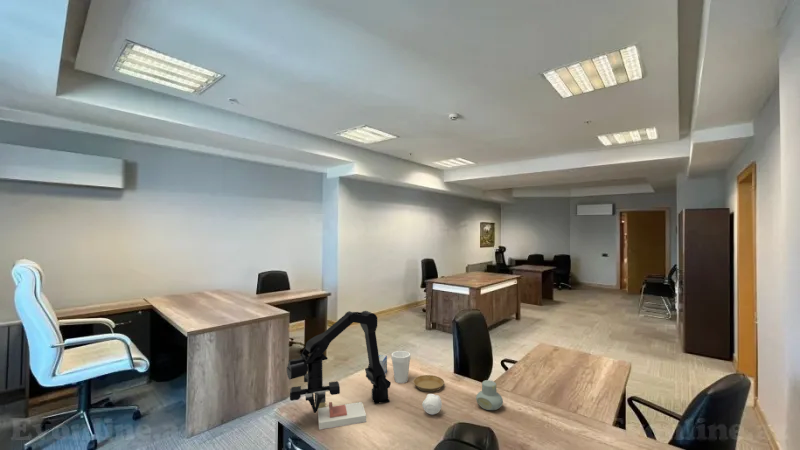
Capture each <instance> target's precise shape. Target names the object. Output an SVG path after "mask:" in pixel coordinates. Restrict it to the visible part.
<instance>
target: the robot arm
mask: <svg viewBox="0 0 800 450" xmlns="http://www.w3.org/2000/svg"><path fill="white" fill-rule="evenodd" d="M353 323H357V324H359V325H360V327H361V329H362V331H363V333H364V337H365V338H364V339H365V344H366V352H367V358H368V366H367V367H365V369H364V370H365V377H366V378H367V380H368V381H370V384H371V385H372V388H371V400H372V401H373V403H374V404H375V405H376V404H384V403H388V402H390V399H389V389H390V388H391V381H390V380H388V379H387V377H386V374H385V373H384V370H383V368H382V366H381V364H380V361H379V348H378V341H377V334H376V332H377V328H378V316H377V315H376V314H375V312H371V311H368V310H363V311H361V312H359V311H347V312H345V314H344V315H342V316H341V317H340V318H339V319H338V320H337V321H335V323H333V324H332V325H331V326H329V328H327V329H326V330H325V331H324V332H321V333H320V334H317V335H315V336H313V337H312V338H310V339H309V340H307V341H306V343H305V347H304V348H303V351H302V352H301V353H300V355H299V357H300V358H295V359H288V363H287V366H286V375H287V378H288V379H289V380H293V379H297V378H301V377H303V382H304V383H307V388H302V386H301V385H300V386H292V387H291V388H290V391H289V401H293V402H294V401H298V400H300V399H301V396H303V395H304V396H305V401H306V402H307V401H308V402H309V404H310V405H311V409H312V411H313V413H314V414H318V407H319V404H320V402H321V400H322V399H323V398H325V394H326V392H329V394H330V395H331V396H334V395H336V396H337V395H340V393H341V387H340V383H339V382H338V381H337V380H336V381H330V382H328V385H323V384H324V383H323V375H324V374H323V361H326V360H328V356H327V355H325V354H324V353H325V351H327V350H328V348H329V345H330V344H331V343H332V342H333V341H334V339H336V338H337V337H338V336H339V335H340V334H342V333H343V332H344V331H345V330H346V329H347V328H349V327H350V326H351V325H352V324H353ZM315 393H317V398H316V406H315Z"/></svg>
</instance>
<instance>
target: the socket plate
mask: <svg viewBox="0 0 800 450" xmlns="http://www.w3.org/2000/svg"><path fill="white" fill-rule="evenodd" d="M339 405H340V404H339ZM339 405H336V406H339ZM343 405H345V406H346V411H347V415H343V416H336V417H330V413H329V406H325V407H324V408H318V410H317V420H318V430H325V429H331V428H338V427H343V426H345V427H346V426H350V425H354V424H355V425H356V424H362V423H366V422H367V413H366V411H365V407H364V405H363V402H362V401H359V402H352V403H346V404H345V403H344V404H343Z"/></svg>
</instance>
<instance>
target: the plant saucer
mask: <svg viewBox="0 0 800 450" xmlns="http://www.w3.org/2000/svg"><path fill="white" fill-rule="evenodd" d="M412 382H413V384H414V386H415V387H416V388H417V389H419V390H420V391H423V392H428V393H429V392H437V391H439V390H440V389H441V388H442V387H443V386H444V384H445V380H444V379H443V378H442V377H440V376H437V375H433V374H432V375H431V374H424V375H419V376H416V377H415V378H414V379H413V381H412Z"/></svg>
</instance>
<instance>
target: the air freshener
mask: <svg viewBox="0 0 800 450" xmlns="http://www.w3.org/2000/svg"><path fill="white" fill-rule="evenodd" d="M475 400H476V403H477V405H478V406H479V407H480V408H482V409H484V410H485V411H496V410H498V409H500V408H501V407H502V406H503V403H504V398H503V397H502V395H501V394H500V393H499V392H498V391H497V383H496V382H495V381H493V380H489V379H486V380H483V381H482V382H481V391H479V392H477V394H476V396H475Z"/></svg>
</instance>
